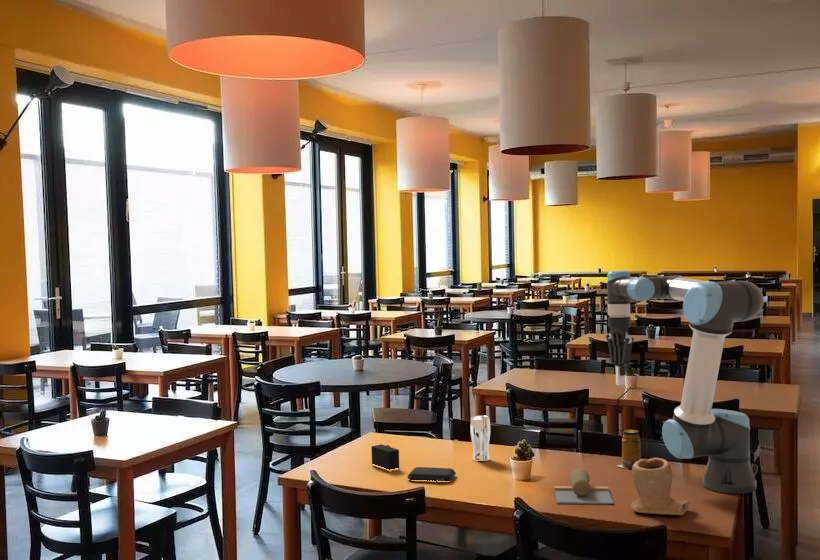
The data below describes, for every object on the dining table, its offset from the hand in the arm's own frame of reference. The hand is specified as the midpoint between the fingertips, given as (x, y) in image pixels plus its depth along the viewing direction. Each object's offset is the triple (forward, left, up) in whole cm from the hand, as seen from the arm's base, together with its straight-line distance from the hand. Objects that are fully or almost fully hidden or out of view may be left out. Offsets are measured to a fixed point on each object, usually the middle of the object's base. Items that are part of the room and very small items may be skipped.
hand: (620, 384), depth 271 cm
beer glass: (+22, +43, -27) cm, 55 cm away
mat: (-28, +33, -26) cm, 51 cm away
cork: (-20, +29, -23) cm, 43 cm away
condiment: (-8, +1, -27) cm, 28 cm away
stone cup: (-49, +22, -27) cm, 60 cm away
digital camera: (+27, +76, -27) cm, 85 cm away
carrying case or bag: (+8, +67, -27) cm, 73 cm away
